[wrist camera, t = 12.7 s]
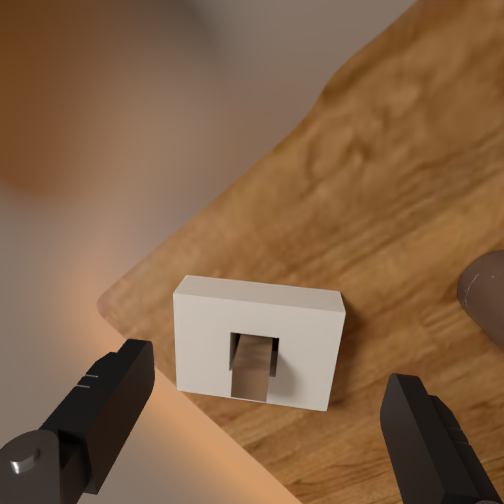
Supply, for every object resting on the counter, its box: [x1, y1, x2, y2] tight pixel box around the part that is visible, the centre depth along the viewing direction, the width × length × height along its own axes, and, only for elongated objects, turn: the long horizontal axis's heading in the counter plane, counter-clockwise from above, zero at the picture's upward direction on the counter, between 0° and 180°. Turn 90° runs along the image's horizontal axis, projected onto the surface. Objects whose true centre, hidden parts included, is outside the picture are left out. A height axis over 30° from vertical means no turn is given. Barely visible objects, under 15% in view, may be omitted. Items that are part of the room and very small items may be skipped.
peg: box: [231, 333, 273, 402], centre depth 39 cm, size 4×4×10 cm
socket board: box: [173, 275, 346, 411], centre depth 41 cm, size 20×15×5 cm
